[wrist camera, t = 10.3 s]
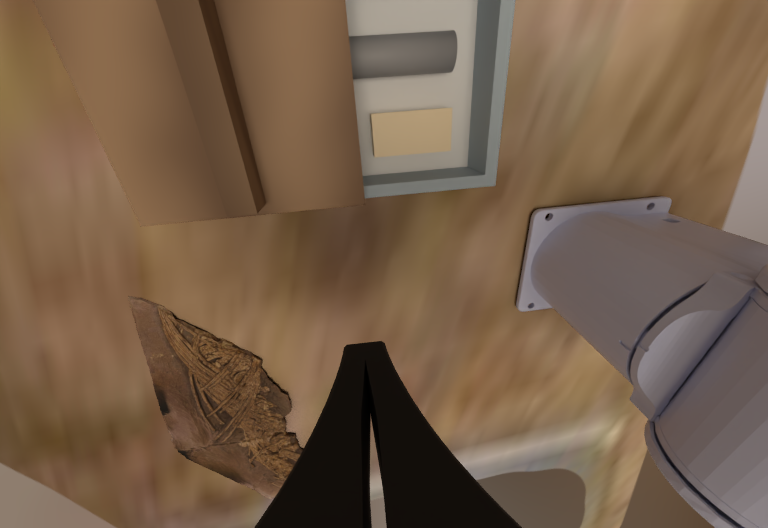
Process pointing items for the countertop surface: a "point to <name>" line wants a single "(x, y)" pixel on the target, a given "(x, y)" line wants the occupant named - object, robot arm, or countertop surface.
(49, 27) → the lid
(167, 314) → the wooden fragment
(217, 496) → the countertop surface
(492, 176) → the gray box
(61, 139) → the countertop surface
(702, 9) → the countertop surface
